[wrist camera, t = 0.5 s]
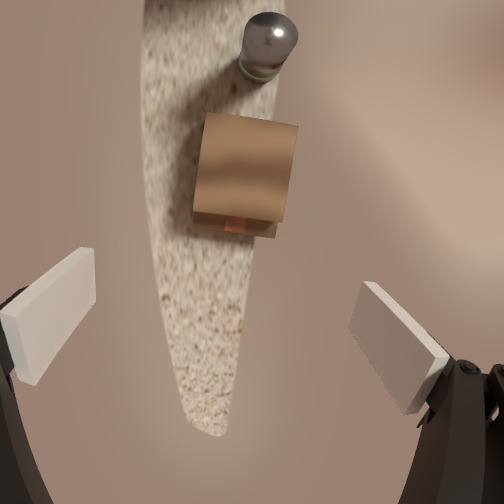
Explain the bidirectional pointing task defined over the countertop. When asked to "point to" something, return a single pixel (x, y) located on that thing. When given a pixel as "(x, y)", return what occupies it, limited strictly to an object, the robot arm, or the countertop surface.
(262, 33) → the column
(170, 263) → the countertop surface
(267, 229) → the step block
